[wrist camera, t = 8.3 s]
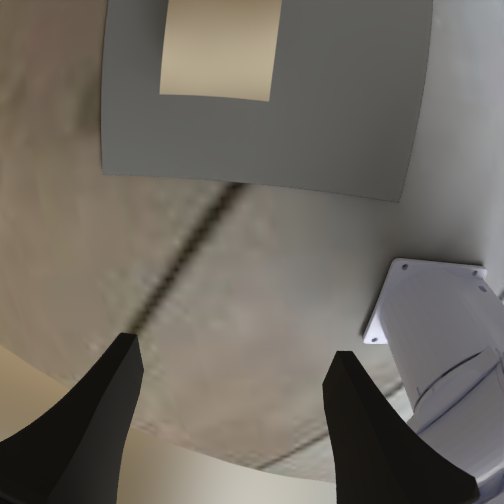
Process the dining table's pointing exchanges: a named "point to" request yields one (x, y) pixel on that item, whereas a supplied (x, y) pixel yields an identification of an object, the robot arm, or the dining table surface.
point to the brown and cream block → (220, 48)
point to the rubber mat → (276, 101)
